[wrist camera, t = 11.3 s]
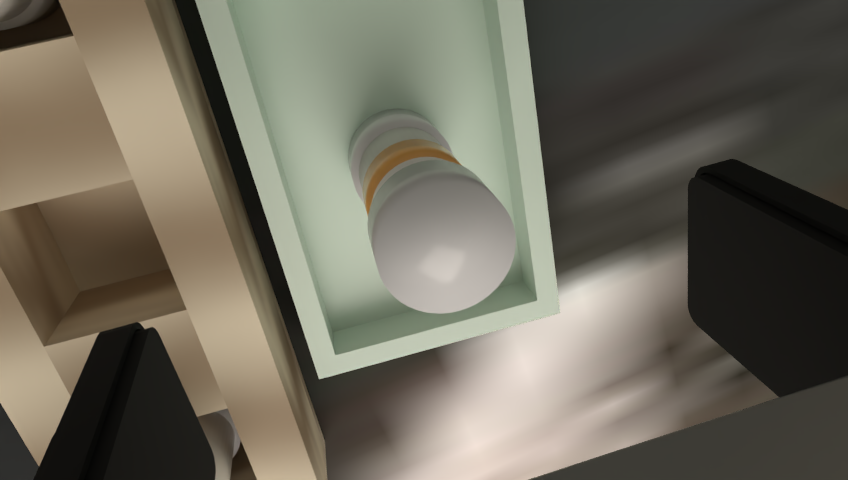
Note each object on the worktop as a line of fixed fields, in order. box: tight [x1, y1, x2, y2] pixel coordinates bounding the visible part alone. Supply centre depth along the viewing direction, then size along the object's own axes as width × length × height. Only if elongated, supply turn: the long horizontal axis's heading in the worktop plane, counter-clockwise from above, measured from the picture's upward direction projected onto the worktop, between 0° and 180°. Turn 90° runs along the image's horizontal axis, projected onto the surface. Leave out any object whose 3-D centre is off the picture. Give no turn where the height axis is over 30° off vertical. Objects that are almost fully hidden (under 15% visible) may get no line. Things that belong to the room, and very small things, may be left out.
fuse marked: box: [348, 108, 516, 314], centre depth 18 cm, size 3×3×8 cm
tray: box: [195, 0, 560, 379], centre depth 21 cm, size 14×9×2 cm, turn 11°
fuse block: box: [0, 0, 327, 480], centre depth 20 cm, size 23×8×4 cm, turn 11°
